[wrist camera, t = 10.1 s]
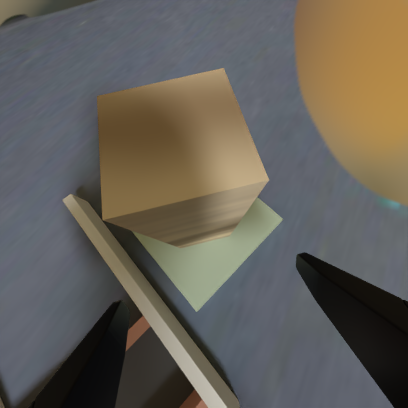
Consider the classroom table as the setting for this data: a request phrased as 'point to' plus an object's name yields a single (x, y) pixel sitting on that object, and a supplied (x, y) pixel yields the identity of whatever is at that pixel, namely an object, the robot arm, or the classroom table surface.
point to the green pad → (212, 255)
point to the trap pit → (153, 374)
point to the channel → (153, 309)
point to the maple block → (177, 159)
